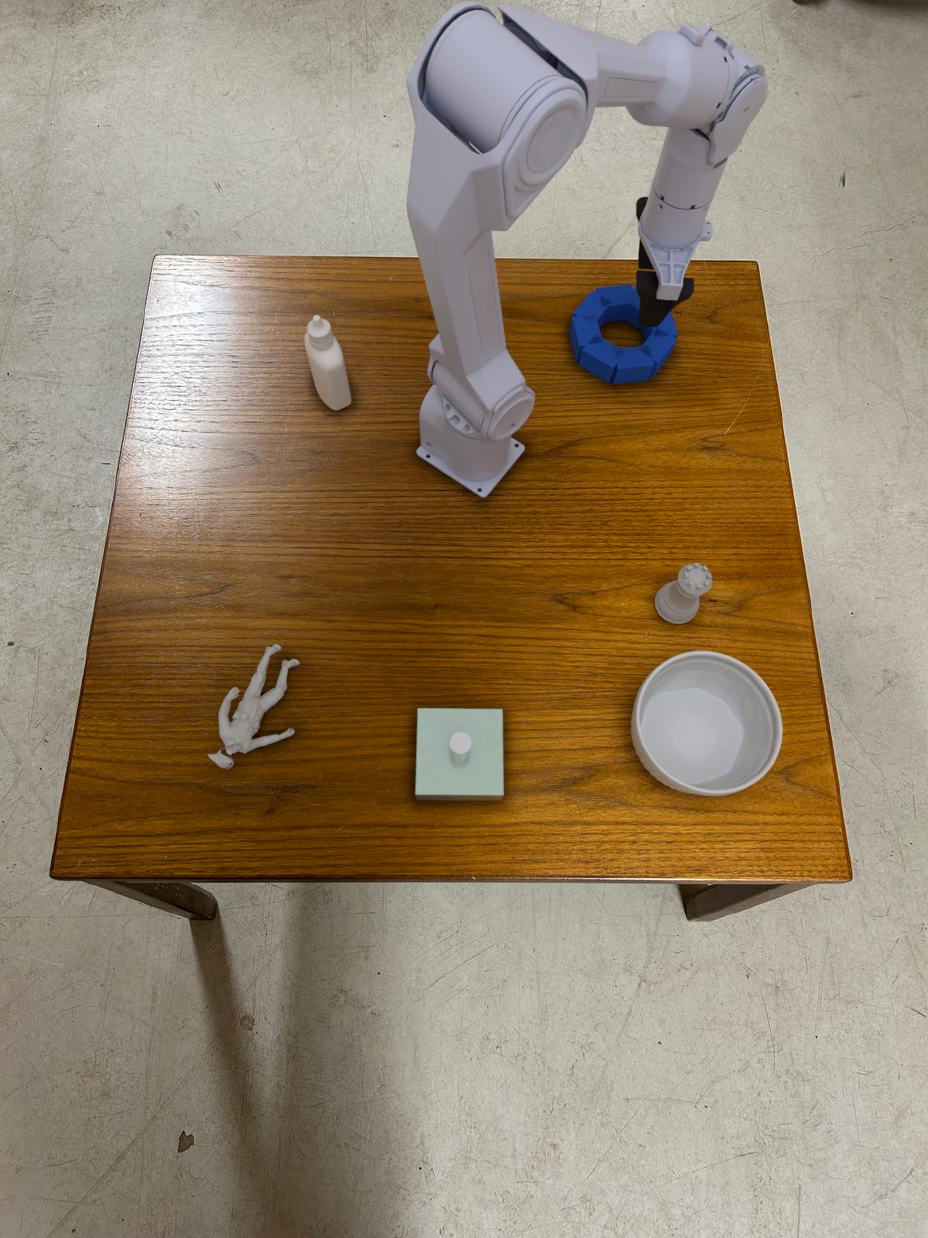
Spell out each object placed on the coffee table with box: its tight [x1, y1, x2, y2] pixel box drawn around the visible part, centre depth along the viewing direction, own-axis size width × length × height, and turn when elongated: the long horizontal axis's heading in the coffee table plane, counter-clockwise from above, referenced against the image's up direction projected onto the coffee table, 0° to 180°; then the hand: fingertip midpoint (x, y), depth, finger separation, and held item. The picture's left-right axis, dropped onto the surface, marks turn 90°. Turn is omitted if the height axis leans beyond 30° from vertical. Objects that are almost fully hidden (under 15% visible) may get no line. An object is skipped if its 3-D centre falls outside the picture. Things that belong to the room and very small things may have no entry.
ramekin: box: [630, 650, 784, 797], centre depth 73 cm, size 13×13×7 cm
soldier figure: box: [207, 643, 301, 771], centre depth 74 cm, size 8×5×12 cm
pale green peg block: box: [414, 707, 505, 802], centre depth 71 cm, size 8×8×8 cm
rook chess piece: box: [654, 562, 713, 625], centre depth 77 cm, size 4×4×8 cm
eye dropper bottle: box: [304, 314, 352, 412], centre depth 83 cm, size 4×6×12 cm
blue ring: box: [568, 283, 679, 385], centre depth 91 cm, size 12×12×3 cm
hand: (648, 294), depth 83 cm, fingers open, 7 cm apart
